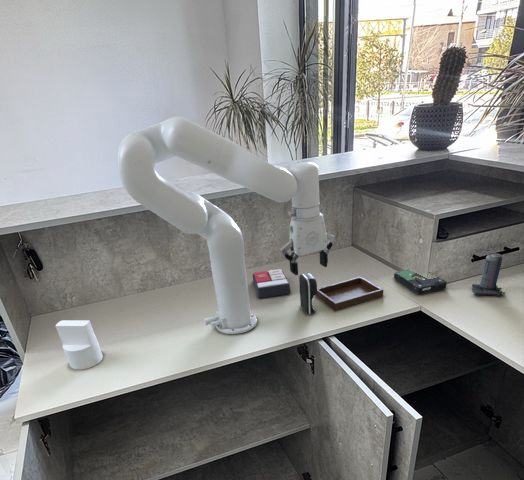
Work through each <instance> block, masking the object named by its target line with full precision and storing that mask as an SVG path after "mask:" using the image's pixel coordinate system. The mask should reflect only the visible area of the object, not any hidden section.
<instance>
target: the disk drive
mask: <svg viewBox="0 0 524 480" xmlns="http://www.w3.org/2000/svg"><path fill="white" fill-rule="evenodd" d="M409 269H410V268H407V269H404V270H399V271H395V272H394V274H393V279H394V280H395V281H397V282H398V283H400V284H401V285H403V286H404V287H406V288H407V289H409V290H410V291H411V292H412V293H415V294H416V295H418V296H420V295H424V294H429V293H433V292H437V291H442V290H445V289H447V281H446V280H445V279H443V278H441V277H439V276H438V277H437V278H433V279H427V278H425V277H423V276H421V275H419V274H417V273H415V272H413V271H411V270H409Z"/></svg>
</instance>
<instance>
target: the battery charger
mask: <svg viewBox="0 0 524 480" xmlns="http://www.w3.org/2000/svg"><path fill="white" fill-rule="evenodd" d="M298 283H299V284H298V285H299V286H298V287H299V300H300V303H299V304H300V307H301V309H302V310H303V312H304V313H305V314H306V315H313V314H315V313H316V308H315V307H314V306H313V299H314V298H315V297H314V296H315V295H317V288H318V283H317V279H316V278H315V277H314V276H313V275H312V274H311V273H307V272H306V273H302V274H299V275H298Z"/></svg>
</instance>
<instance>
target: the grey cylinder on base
mask: <svg viewBox="0 0 524 480" xmlns="http://www.w3.org/2000/svg"><path fill="white" fill-rule="evenodd" d="M502 264H503V256H502V254H500V253H497V252H491V253H488V254H487V256H486V257H485V261H484V265H483V269H482V273H481V278H480V282H479V284H477V283H472V284H471V289H472V293H473V295H474V296H476V297H477V296H483V295H486V296H489V297H492V296H496V297H501V296H502V295H503V296H504V295H506V291H504V292H503V291H502V290H503V288H502V287H498V285H497V282H498V279H499V274H500V271H501V266H502Z"/></svg>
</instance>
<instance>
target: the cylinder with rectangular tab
mask: <svg viewBox="0 0 524 480" xmlns="http://www.w3.org/2000/svg"><path fill="white" fill-rule="evenodd" d="M55 328H56V331H57V334H58V336H59V339H60V342H61V344H62V349H63V352H64V354H65V357H66V359H67V362H68V364H69V367H70V368H71V369H73V370H85V369H89V368H92V367H94V366H96V365H97V364H99V363H100V362H101V361H102V360H103V358H104V357H103V356H104V355H103V353H102V349H101V347H100V344H99V341H98V338H97V336H96V334H95V332H94V329H93V326H92V323H91V321H90V320H89V319H87V320H83V319H82V320H78V319H77V320H73V319H71V320H67V319H66V320H65V319H62V320H60V321H58V322H57V323H56V324H55Z"/></svg>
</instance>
